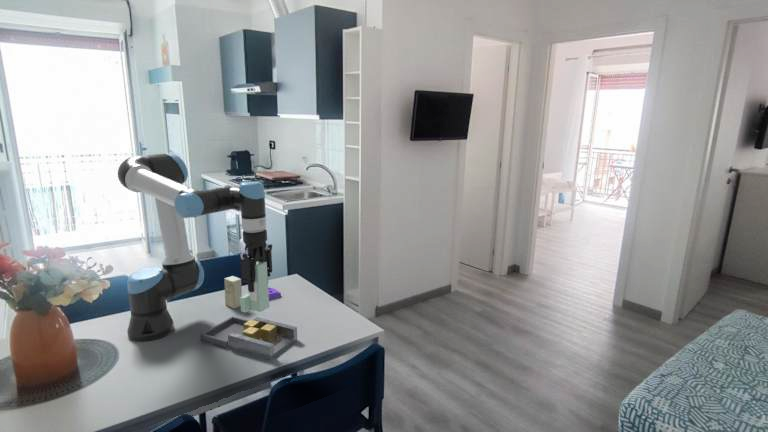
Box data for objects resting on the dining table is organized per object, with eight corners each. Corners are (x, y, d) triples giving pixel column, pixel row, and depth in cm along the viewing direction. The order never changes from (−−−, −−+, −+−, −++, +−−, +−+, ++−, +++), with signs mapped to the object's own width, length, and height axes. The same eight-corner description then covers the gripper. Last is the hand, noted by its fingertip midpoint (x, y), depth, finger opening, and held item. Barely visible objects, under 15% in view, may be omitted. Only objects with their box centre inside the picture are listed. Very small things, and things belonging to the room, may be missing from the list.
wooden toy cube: (243, 341, 152) (242, 331, 151) (251, 336, 155) (250, 326, 155) (252, 344, 150) (251, 333, 149) (260, 339, 154) (259, 328, 153)
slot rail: (228, 348, 151) (227, 334, 149) (257, 329, 164) (257, 317, 163) (270, 360, 143) (270, 346, 142) (297, 339, 157) (296, 327, 156)
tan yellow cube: (260, 338, 154) (260, 328, 153) (267, 333, 158) (267, 323, 157) (269, 341, 153) (269, 330, 152) (276, 336, 156) (276, 326, 155)
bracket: (255, 303, 188) (254, 288, 186) (249, 297, 193) (248, 283, 191) (280, 296, 195) (280, 281, 194) (274, 291, 200) (273, 277, 199)
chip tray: (201, 340, 155) (200, 334, 154) (233, 322, 169) (232, 316, 169) (226, 348, 150) (226, 341, 150) (257, 328, 165) (257, 322, 164)
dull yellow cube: (244, 334, 157) (243, 324, 156) (251, 329, 161) (251, 319, 160) (252, 336, 156) (252, 326, 155) (260, 331, 159) (259, 321, 158)
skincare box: (225, 305, 184) (223, 278, 181) (234, 301, 188) (232, 275, 185) (234, 309, 181) (232, 281, 178) (243, 305, 184) (241, 278, 181)
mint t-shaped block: (241, 311, 143) (237, 265, 140) (260, 301, 151) (257, 257, 148) (255, 315, 141) (252, 268, 137) (274, 304, 149) (271, 260, 145)
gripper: (244, 237, 130) (249, 309, 135) (281, 225, 146) (284, 290, 151) (225, 234, 134) (231, 305, 139) (263, 223, 149) (267, 286, 154)
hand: (259, 297), depth 145 cm, fingers closed on mint t-shaped block, 4 cm apart
